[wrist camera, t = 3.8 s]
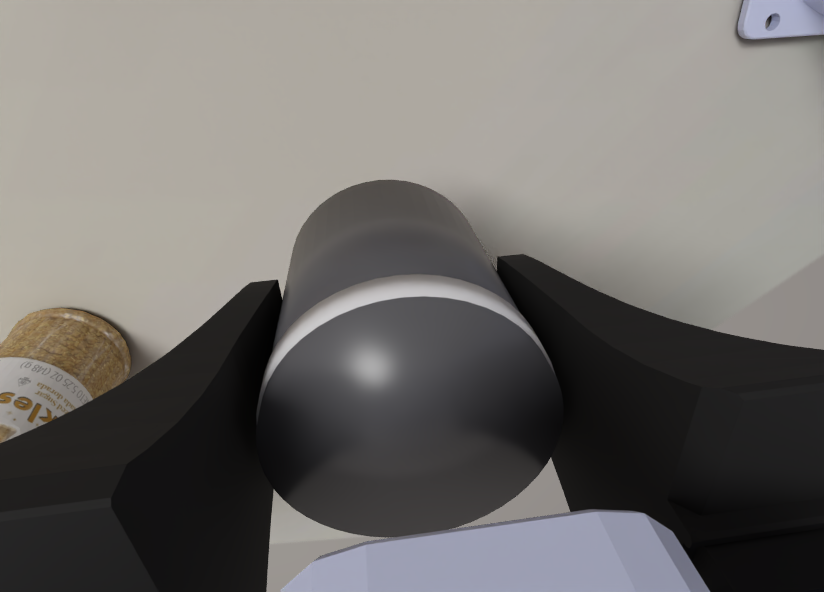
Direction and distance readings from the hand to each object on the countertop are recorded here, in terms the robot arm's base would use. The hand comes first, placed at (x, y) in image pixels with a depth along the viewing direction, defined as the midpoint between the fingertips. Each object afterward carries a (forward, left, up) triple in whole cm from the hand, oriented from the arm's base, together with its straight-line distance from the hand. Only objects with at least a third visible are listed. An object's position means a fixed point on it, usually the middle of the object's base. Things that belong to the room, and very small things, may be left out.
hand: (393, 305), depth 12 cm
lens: (0, 0, -2) cm, 2 cm away
